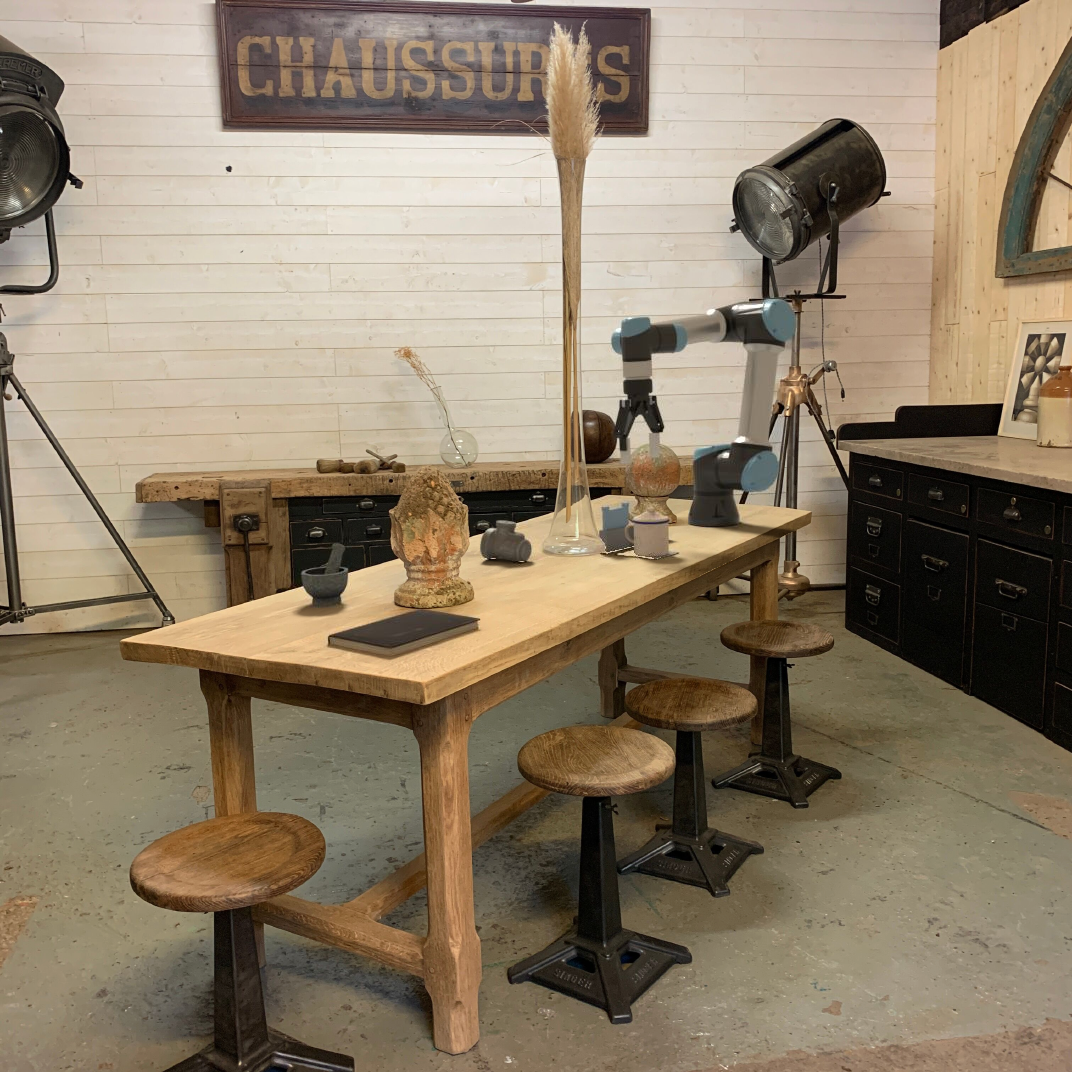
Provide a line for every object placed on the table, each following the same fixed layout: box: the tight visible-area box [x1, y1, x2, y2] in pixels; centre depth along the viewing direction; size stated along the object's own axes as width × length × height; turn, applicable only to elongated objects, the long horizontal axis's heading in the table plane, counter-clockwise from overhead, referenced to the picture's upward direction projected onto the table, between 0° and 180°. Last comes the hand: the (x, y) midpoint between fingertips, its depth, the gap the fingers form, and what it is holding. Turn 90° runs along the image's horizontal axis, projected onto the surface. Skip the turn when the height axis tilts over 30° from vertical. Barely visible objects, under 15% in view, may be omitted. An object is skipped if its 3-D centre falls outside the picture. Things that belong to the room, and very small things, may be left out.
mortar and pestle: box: [300, 543, 349, 607], centre depth 216 cm, size 11×9×12 cm
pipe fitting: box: [479, 520, 533, 562], centre depth 257 cm, size 12×8×10 cm
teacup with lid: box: [625, 506, 670, 557], centre depth 259 cm, size 12×9×12 cm
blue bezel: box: [601, 501, 630, 531], centre depth 265 cm, size 10×1×6 cm, turn 138°
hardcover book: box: [327, 608, 481, 657], centre depth 188 cm, size 16×23×2 cm
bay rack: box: [598, 522, 680, 560], centre depth 267 cm, size 27×17×6 cm, turn 138°
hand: (640, 460), depth 270 cm, fingers open, 13 cm apart
